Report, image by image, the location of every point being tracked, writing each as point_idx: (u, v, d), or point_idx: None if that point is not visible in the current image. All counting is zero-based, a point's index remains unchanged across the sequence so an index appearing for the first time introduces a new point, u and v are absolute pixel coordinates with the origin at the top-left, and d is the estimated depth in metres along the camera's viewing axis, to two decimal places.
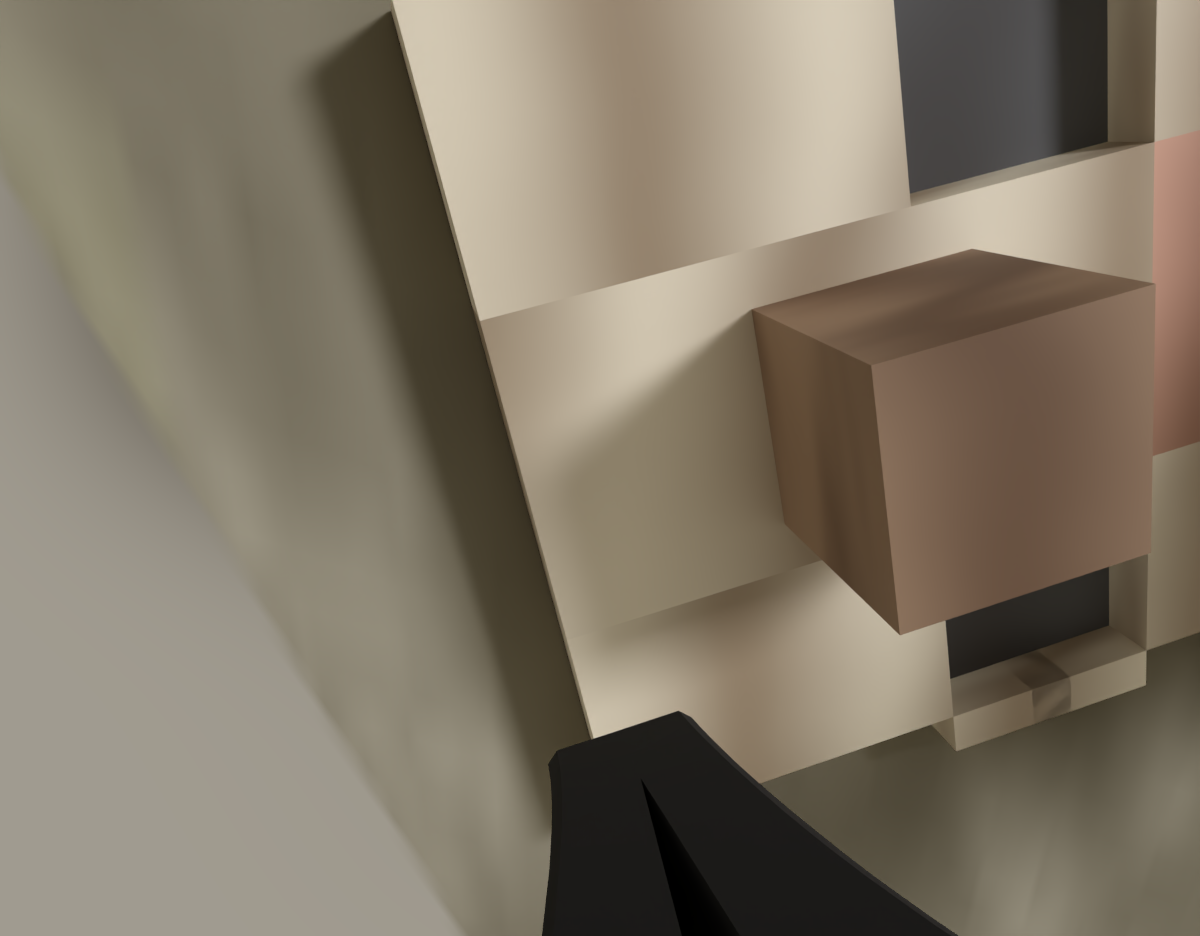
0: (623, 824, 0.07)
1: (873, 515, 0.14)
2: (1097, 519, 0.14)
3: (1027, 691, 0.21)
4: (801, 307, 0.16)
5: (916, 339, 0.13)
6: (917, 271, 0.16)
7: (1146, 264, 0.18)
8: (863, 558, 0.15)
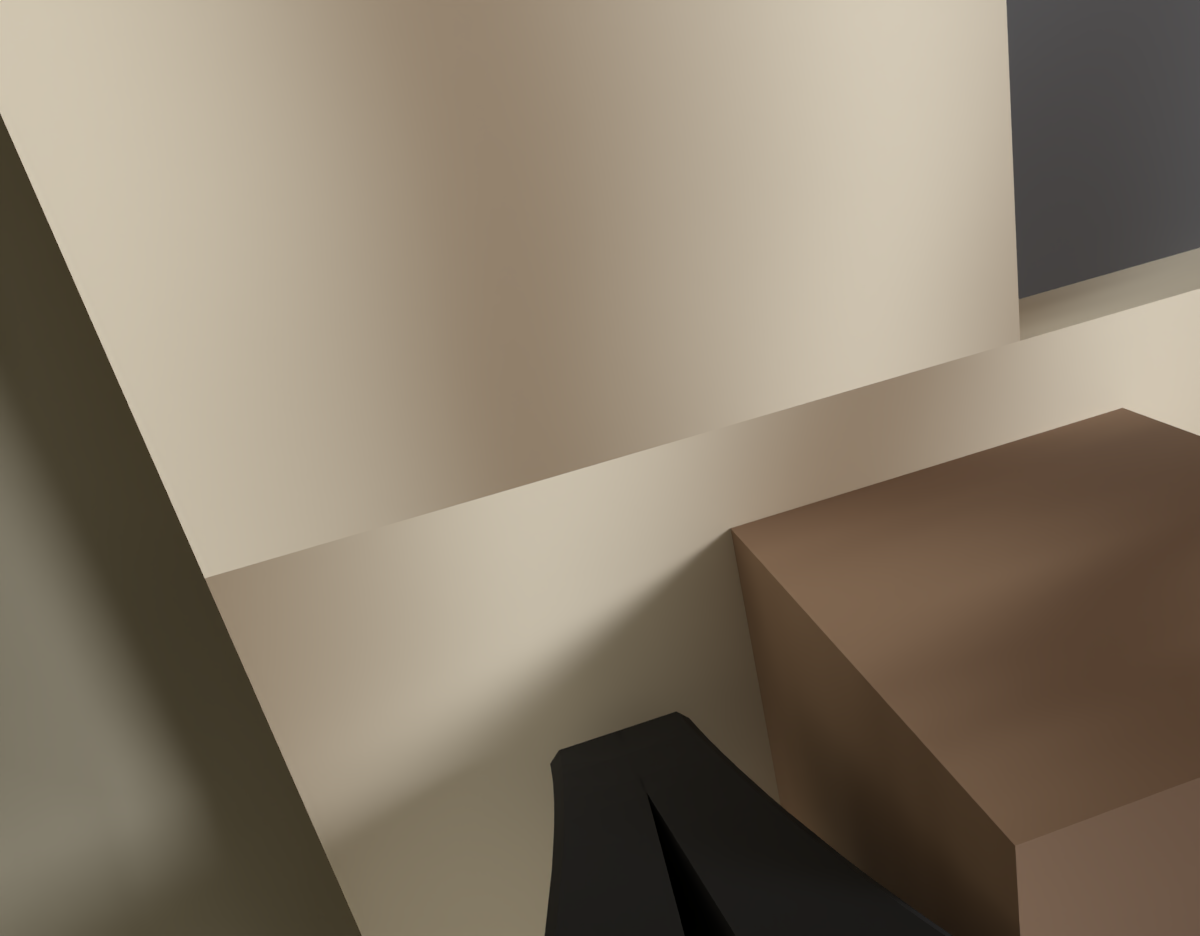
0: (625, 823, 0.07)
1: None
2: None
3: None
4: (823, 540, 0.08)
5: (1104, 735, 0.06)
6: (1034, 462, 0.09)
7: None
8: None
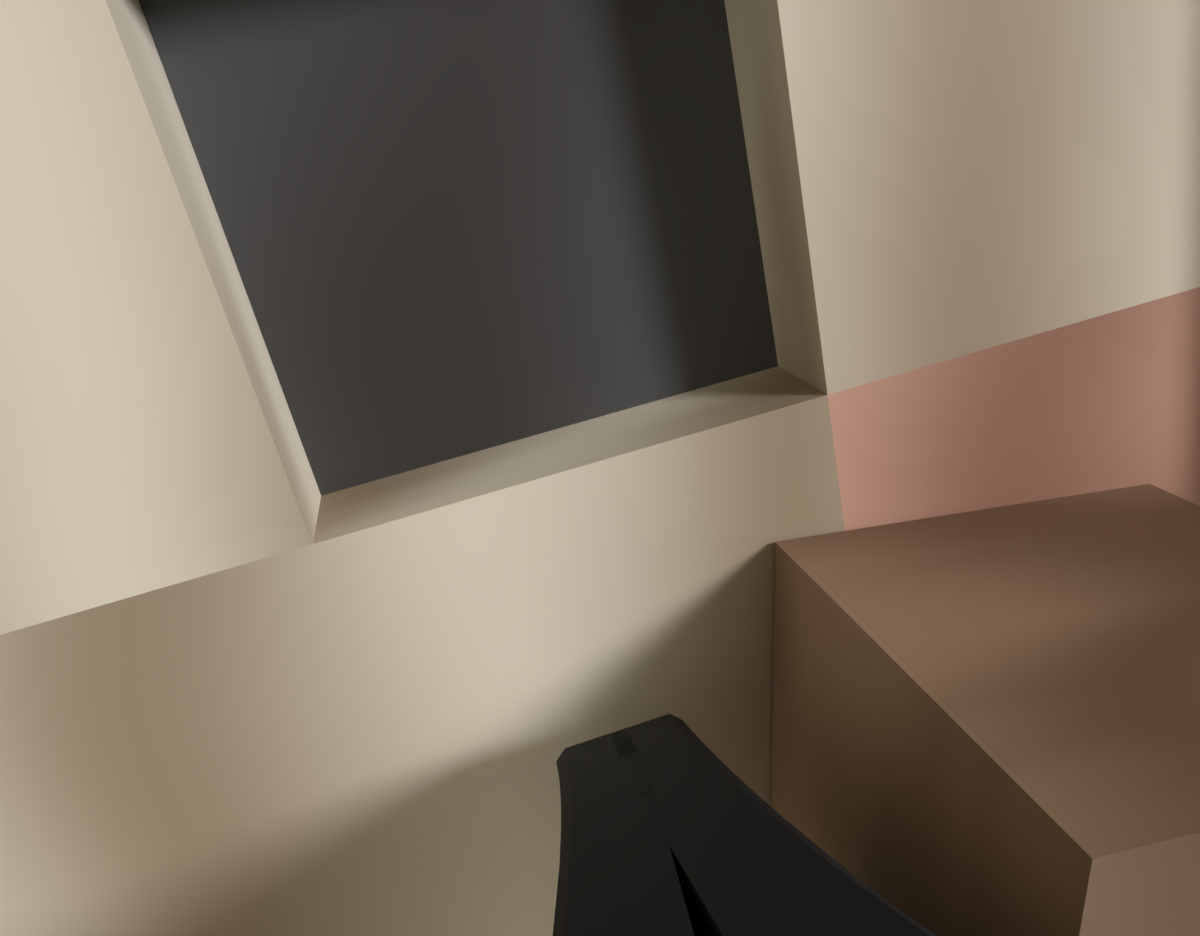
0: (633, 820, 0.07)
1: None
2: None
3: None
4: (869, 564, 0.09)
5: (1169, 769, 0.06)
6: (1068, 520, 0.09)
7: None
8: None
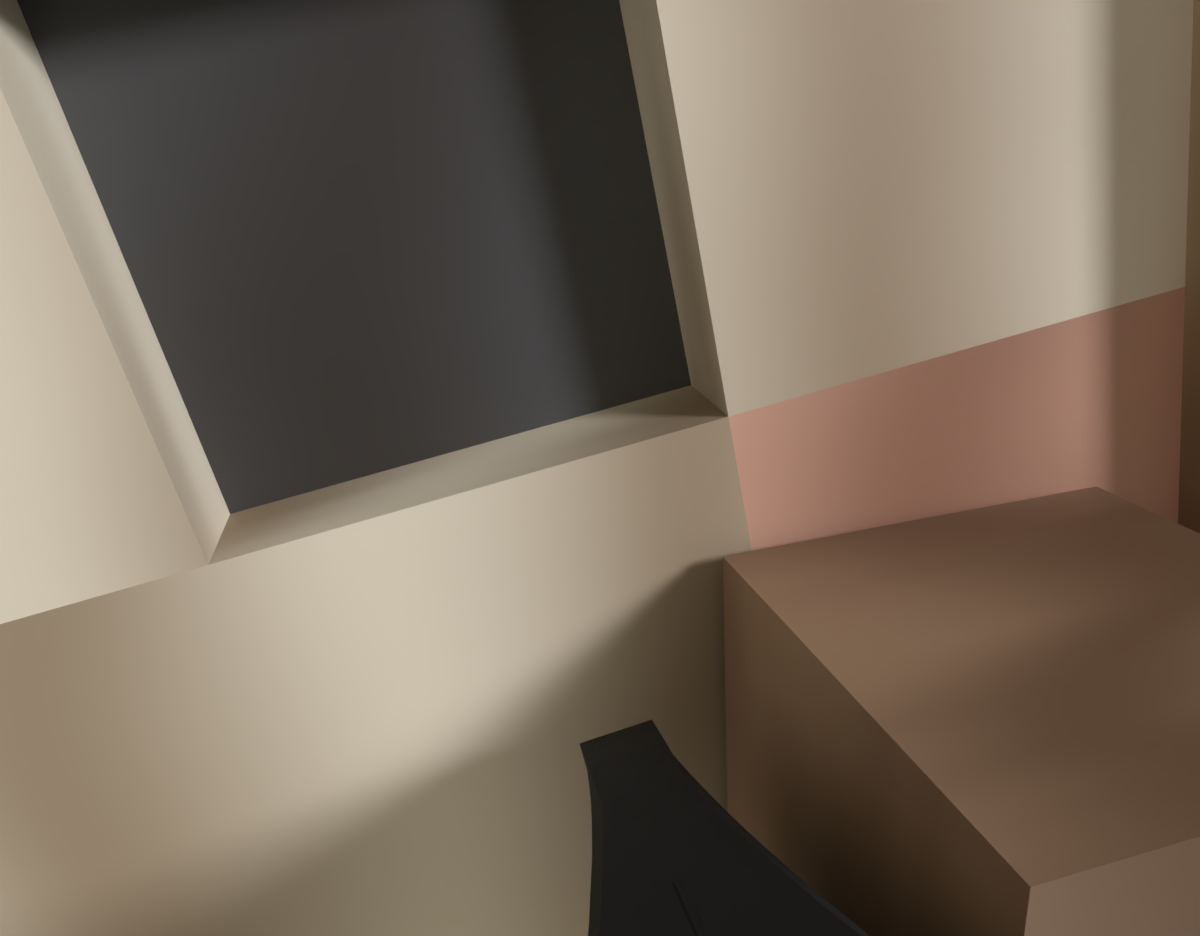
0: (664, 809, 0.07)
1: None
2: None
3: None
4: (817, 578, 0.09)
5: (1107, 789, 0.06)
6: (1016, 527, 0.09)
7: None
8: None
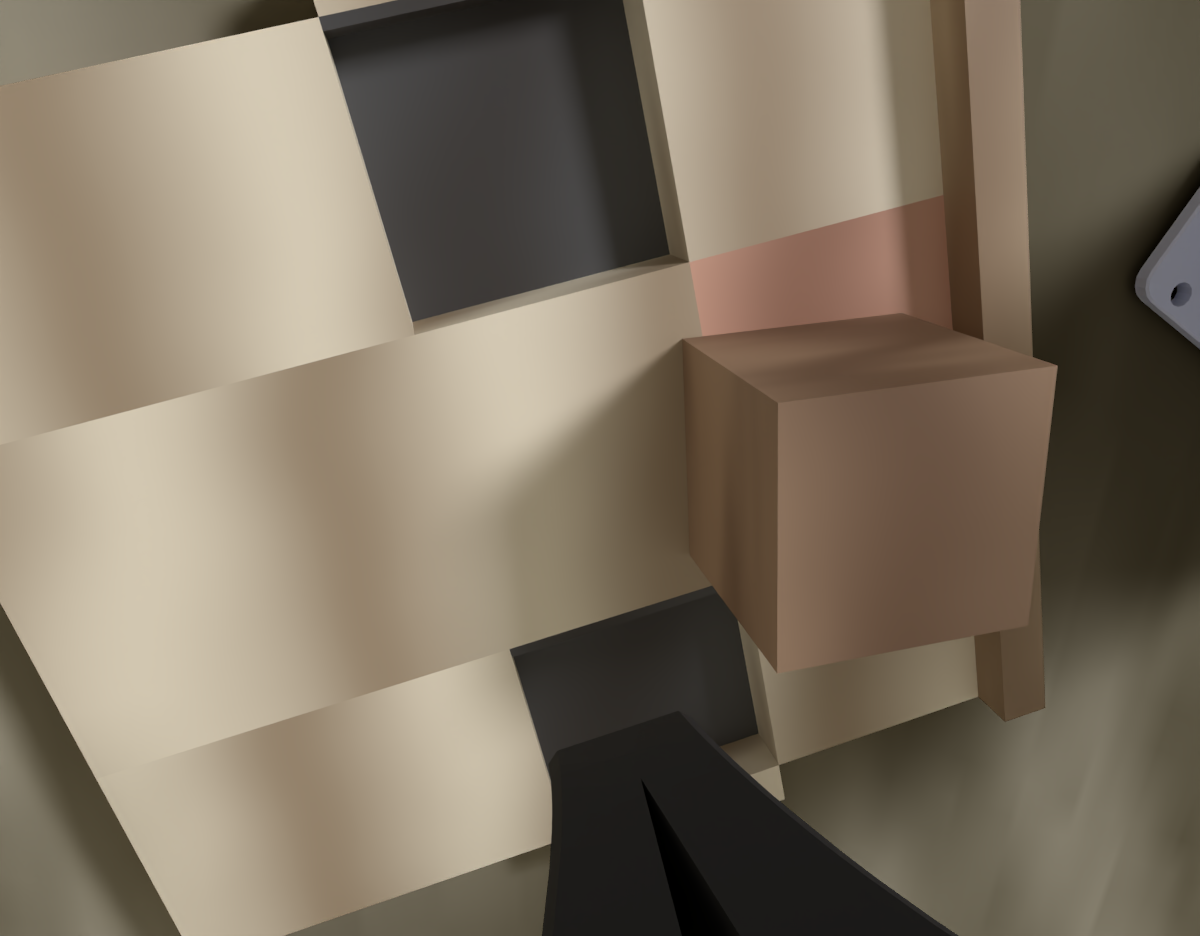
0: (623, 823, 0.07)
1: (766, 552, 0.14)
2: (979, 584, 0.15)
3: None
4: (729, 343, 0.16)
5: (826, 385, 0.13)
6: (845, 326, 0.17)
7: None
8: (753, 594, 0.15)
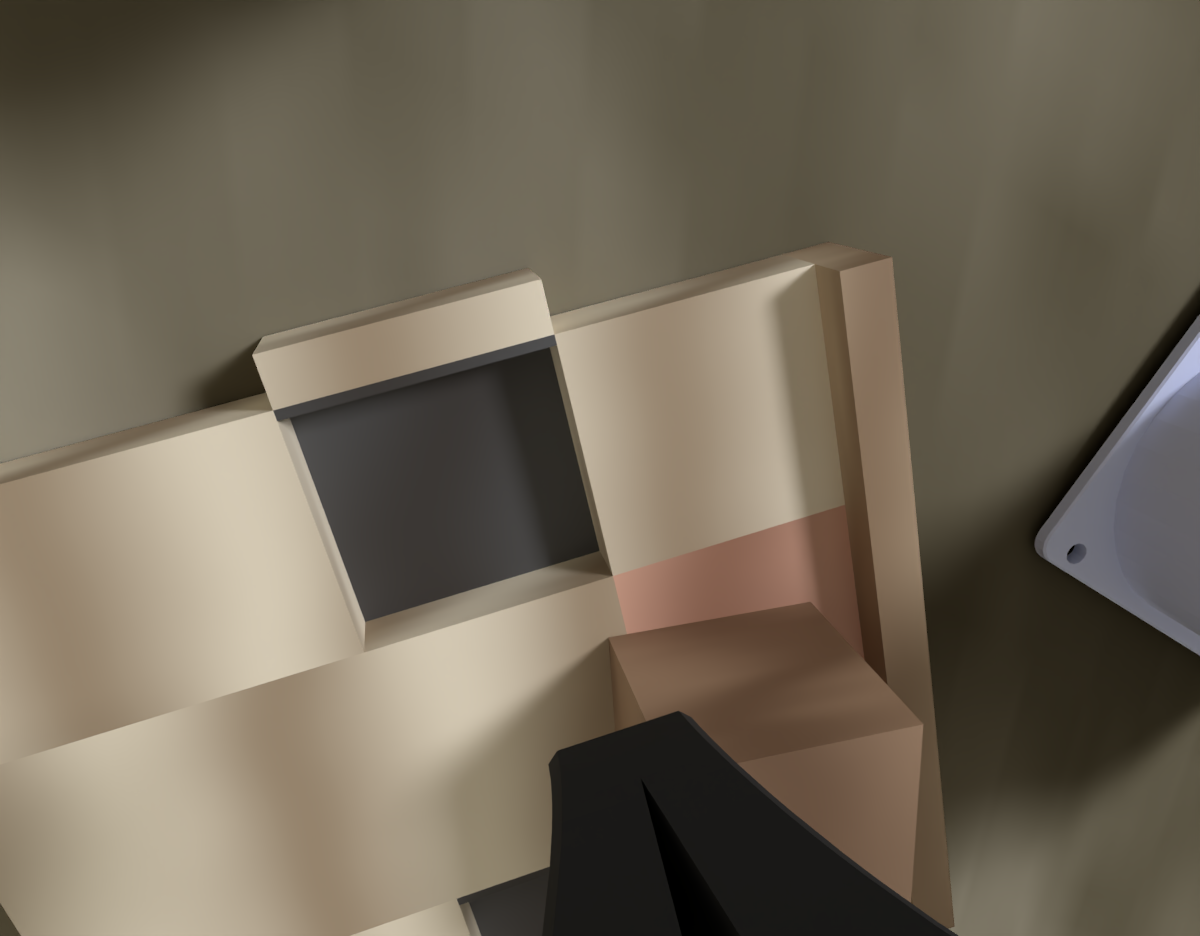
0: (623, 824, 0.07)
1: None
2: None
3: None
4: (648, 651, 0.18)
5: None
6: (755, 625, 0.19)
7: None
8: None
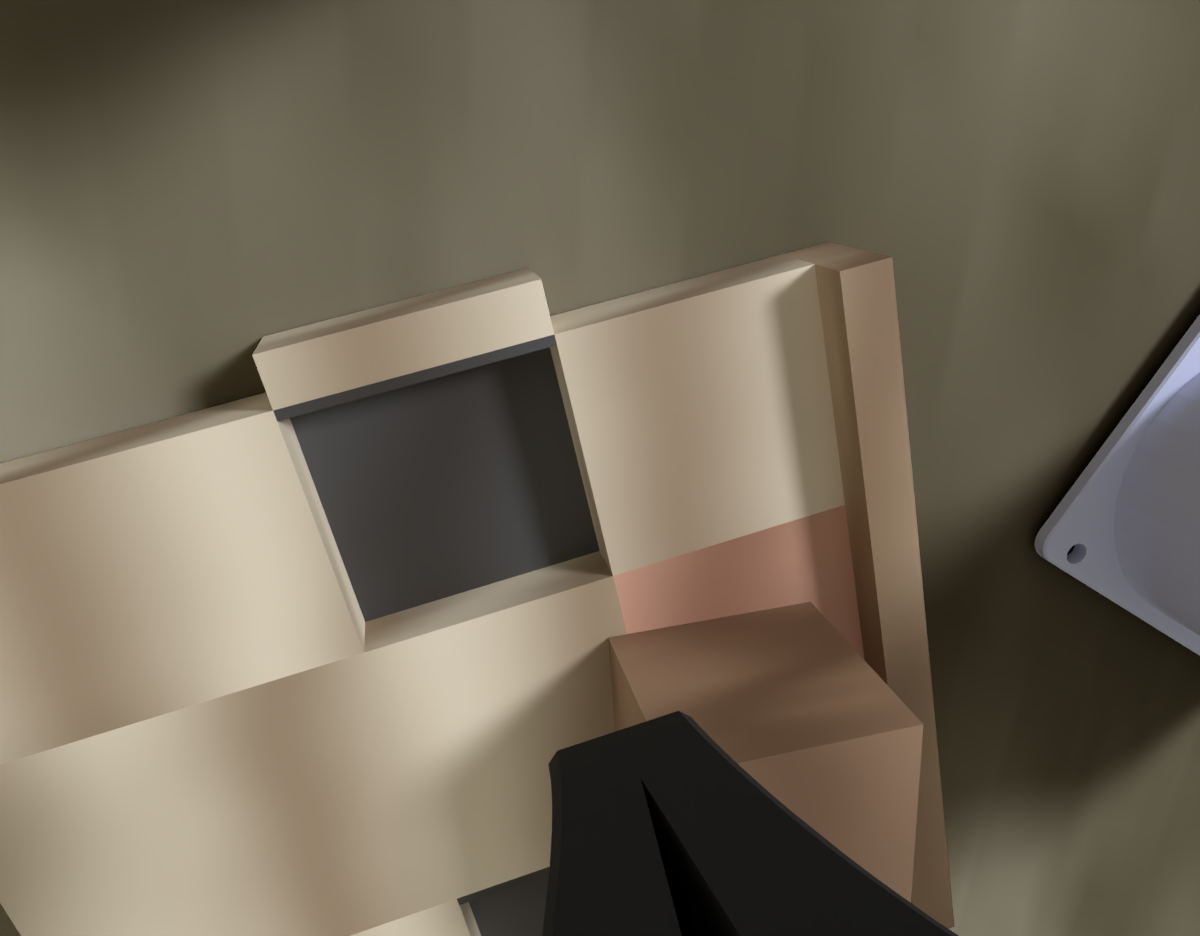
0: (623, 824, 0.07)
1: None
2: None
3: None
4: (648, 651, 0.18)
5: None
6: (755, 625, 0.19)
7: None
8: None
